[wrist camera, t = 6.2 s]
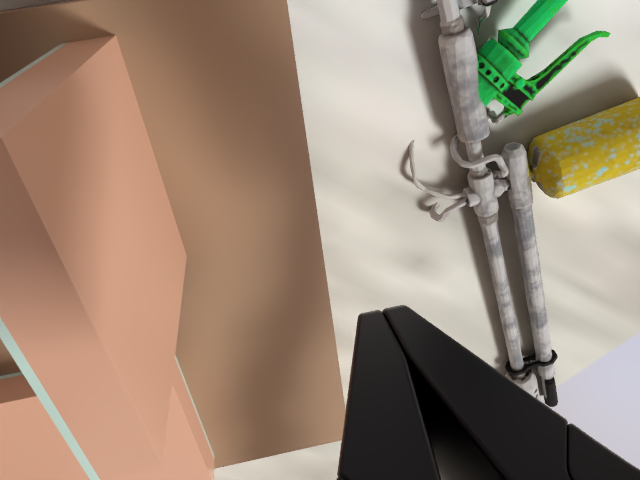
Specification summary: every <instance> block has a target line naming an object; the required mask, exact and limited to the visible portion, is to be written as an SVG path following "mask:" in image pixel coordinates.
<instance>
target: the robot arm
mask: <svg viewBox="0 0 640 480" xmlns="http://www.w3.org/2000/svg"><path fill="white" fill-rule="evenodd" d="M337 475H338V478H337V480H640V470H639V469H638V468H636V467H635V466H633V465H631V464H630V463H628V462H627V461H625V460H624V459H622V458H621V457H620V456H618V455H617V454H615V453H613V452H612V451H611V450H609V449H608V448H606V447H605V446H603V445H602V444H600V443H599V442H597V441H596V440H595V439H593V438H592V437H590V436H589V435H587V434H586V433H585V432H583V431H582V430H580V429H579V428H578V427H576V426H575V425H573V424H568V422H567V420H566V419H565V418H563V417H562V416H560V415H559V414H558V413H556V412H555V411H553V410H552V409H551V408H549V407H548V406H546V405H545V404H544V403H542V402H541V401H539V400H538V399H537V398H535V397H534V396H532V395H531V394H530V393H528V392H527V391H525V390H524V389H522V388H521V387H520V386H518V385H517V384H515V383H514V382H513V381H511V380H510V379H508V378H507V377H506V376H504V375H503V374H501V373H500V372H499V371H497V370H496V369H494V368H493V367H492V366H490V365H489V364H487V363H486V362H485V361H483V360H482V359H480V358H479V357H478V356H476V355H475V354H473V353H472V352H471V351H469V350H468V349H466V348H465V347H463V346H462V345H461V344H459V343H458V342H456V341H455V340H454V339H452V338H451V337H449V336H448V335H447V334H445V333H444V332H442V331H441V330H440V329H438V328H437V327H435V326H434V325H433V324H431V323H430V322H428V321H427V320H426V319H424V318H423V317H421V316H420V315H419V314H417V313H416V312H414V311H413V310H412V309H410V308H409V307H407V306H405V305H400V306H395V307H390V308H386V309H384V310H383V311H382V312H381V311H380V310H375V311H371V312H366V313H361V314H360V315H359V316H358V322H357V329H356V337H355V344H354V352H353V360H352V367H351V375H350V382H349V390H348V398H347V405H346V413H345V420H344V428H343V436H342V443H341V451H340V458H339V466H338V473H337Z"/></svg>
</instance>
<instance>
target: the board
mask: <svg viewBox="0 0 640 480" xmlns="http://www.w3.org/2000/svg"><path fill="white" fill-rule="evenodd" d="M113 35H116V38H117V41H118V44H119V47H120V50H121V53H122V56H123V59H124V63H125V66H126V69H127V72H128V75H129V78H130V81H131V84H132V87H133V90H134V94H135V97H136V100H137V103H138V106H139V109H140V112H141V115H142V118H143V122H144V125H145V128H146V131H147V134H148V137H149V140H150V143H151V146H152V150H153V153H154V156H155V159H156V162H157V165H158V168H159V171H160V174H161V178H162V181H163V184H164V187H165V190H166V193H167V196H168V199H169V202H170V206H171V209H172V212H173V215H174V218H175V221H176V224H177V227H178V230H179V233H180V237H181V240H182V243H183V246H184V249H185V252H186V255H187V258H186V266H185V275H184V284H183V292H182V301H181V309H180V318H179V326H178V335H177V344H176V352H175V355H176V358H177V360H178V363H179V366H180V368H181V371H182V373H183V376H184V379H185V381H186V384H187V386H188V389H189V392H190V394H191V397H192V399H193V402H194V404H195V407H196V410H197V412H198V415H199V417H200V420H201V423H202V425H203V428H204V430H205V433H206V435H207V438H208V441H209V443H210V446H211V448H212V451H213V454H214V469H215V468H219V467H224V466H228V465H233V464H237V463H242V462H246V461H251V460H255V459H260V458H264V457H268V456H273V455H277V454H282V453H286V452H291V451H295V450H300V449H304V448H309V447H313V446H317V445H322V444H326V443H331V442H335V441H340V440H342V436H343V428H344V420H345V413H346V411H345V404H344V397H343V390H342V383H341V376H340V369H339V362H338V355H337V348H336V341H335V334H334V327H333V320H332V313H331V306H330V299H329V292H328V286H327V279H326V272H325V265H324V258H323V251H322V244H321V237H320V230H319V223H318V216H317V209H316V202H315V195H314V188H313V181H312V174H311V167H310V160H309V153H308V146H307V139H306V132H305V125H304V118H303V111H302V104H301V97H300V90H299V83H298V76H297V69H296V62H295V55H294V48H293V41H292V34H291V27H290V20H289V13H288V6H287V0H70V1H64V2H57V3H50V4H44V5H37V6H31V7H24V8H17V9H11V10H4V11H0V83H1V82H3V81H4V80H6V79H7V78H9V77H10V76H12V75H13V74H15V73H16V72H18V71H20V70H21V69H23V68H24V67H26V66H27V65H29V64H30V63H32V62H33V61H35V60H37V59H38V58H40V57H41V56H43V55H44V54H46V53H47V52H49V51H50V50H52V49H54V48H55V47H57V46H58V45H60V44H62V43H69V42H75V41H82V40H88V39H94V38H101V37H107V36H113ZM18 372H21V370H20V368H19V367H18V365H17V364H16V362H15V361H14V359H13V357H12V356H11V354H10V353H9V351H8V350H7V348H6V346H5V345H4V343H3V342H2V340H1V338H0V376H3V375H8V374H13V373H18Z"/></svg>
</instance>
